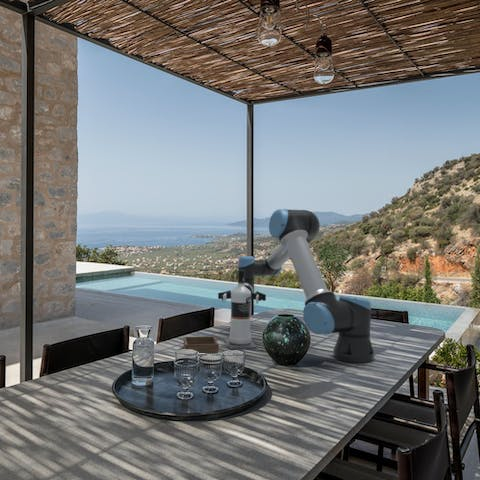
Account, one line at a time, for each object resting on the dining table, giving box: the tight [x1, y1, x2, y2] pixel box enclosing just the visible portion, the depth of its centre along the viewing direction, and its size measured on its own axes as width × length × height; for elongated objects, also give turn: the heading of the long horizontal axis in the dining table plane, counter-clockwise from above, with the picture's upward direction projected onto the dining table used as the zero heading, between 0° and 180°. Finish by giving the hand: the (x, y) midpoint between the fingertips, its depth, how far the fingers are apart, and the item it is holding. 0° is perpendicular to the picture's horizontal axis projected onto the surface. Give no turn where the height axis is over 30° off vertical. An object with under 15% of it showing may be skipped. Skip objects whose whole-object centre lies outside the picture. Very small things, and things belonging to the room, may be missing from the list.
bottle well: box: [182, 335, 220, 353], centre depth 181 cm, size 13×13×4 cm
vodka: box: [228, 270, 252, 345], centre depth 191 cm, size 9×9×30 cm
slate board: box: [224, 338, 258, 351], centre depth 191 cm, size 14×11×1 cm
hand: (240, 299), depth 188 cm, fingers open, 13 cm apart
